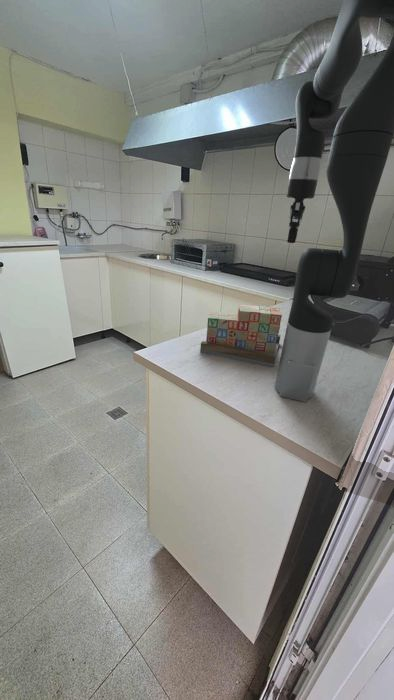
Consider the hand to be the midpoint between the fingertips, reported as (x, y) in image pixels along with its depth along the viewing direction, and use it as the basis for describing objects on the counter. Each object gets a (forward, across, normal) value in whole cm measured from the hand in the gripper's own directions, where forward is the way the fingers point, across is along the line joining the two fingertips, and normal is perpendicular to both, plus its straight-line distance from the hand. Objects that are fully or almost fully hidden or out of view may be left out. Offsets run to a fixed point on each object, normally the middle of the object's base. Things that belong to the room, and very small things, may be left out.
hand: (291, 241), depth 85 cm
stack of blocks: (+31, -14, +10) cm, 35 cm away
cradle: (+31, -14, +9) cm, 35 cm away
